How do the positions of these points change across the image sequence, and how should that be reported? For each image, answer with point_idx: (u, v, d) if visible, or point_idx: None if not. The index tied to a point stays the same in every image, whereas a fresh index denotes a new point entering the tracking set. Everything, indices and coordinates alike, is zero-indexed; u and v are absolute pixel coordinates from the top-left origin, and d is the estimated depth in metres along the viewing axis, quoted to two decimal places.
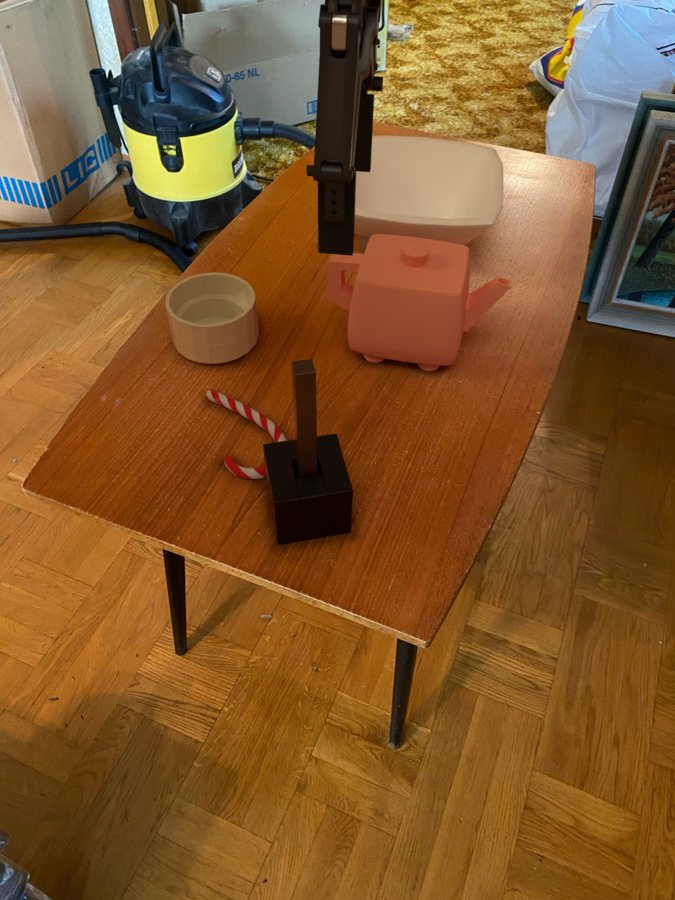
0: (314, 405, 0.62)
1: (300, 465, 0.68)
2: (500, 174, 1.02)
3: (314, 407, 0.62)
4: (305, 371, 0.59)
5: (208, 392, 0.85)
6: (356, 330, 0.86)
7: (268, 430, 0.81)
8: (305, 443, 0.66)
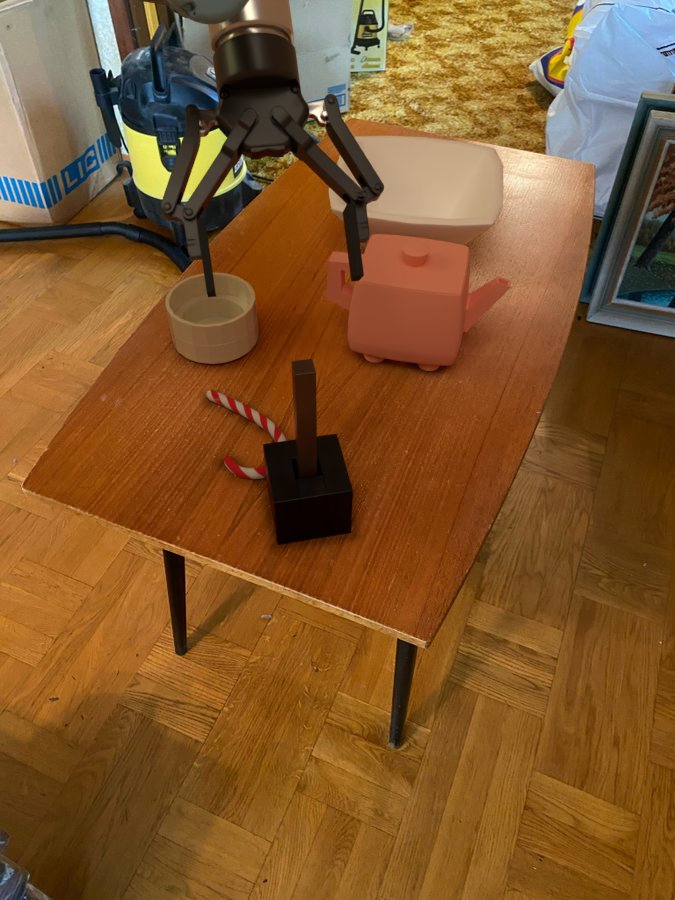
0: (314, 405, 0.62)
1: (300, 465, 0.68)
2: (500, 174, 1.02)
3: (314, 407, 0.62)
4: (305, 371, 0.59)
5: (208, 392, 0.85)
6: (356, 330, 0.86)
7: (268, 430, 0.81)
8: (305, 443, 0.66)
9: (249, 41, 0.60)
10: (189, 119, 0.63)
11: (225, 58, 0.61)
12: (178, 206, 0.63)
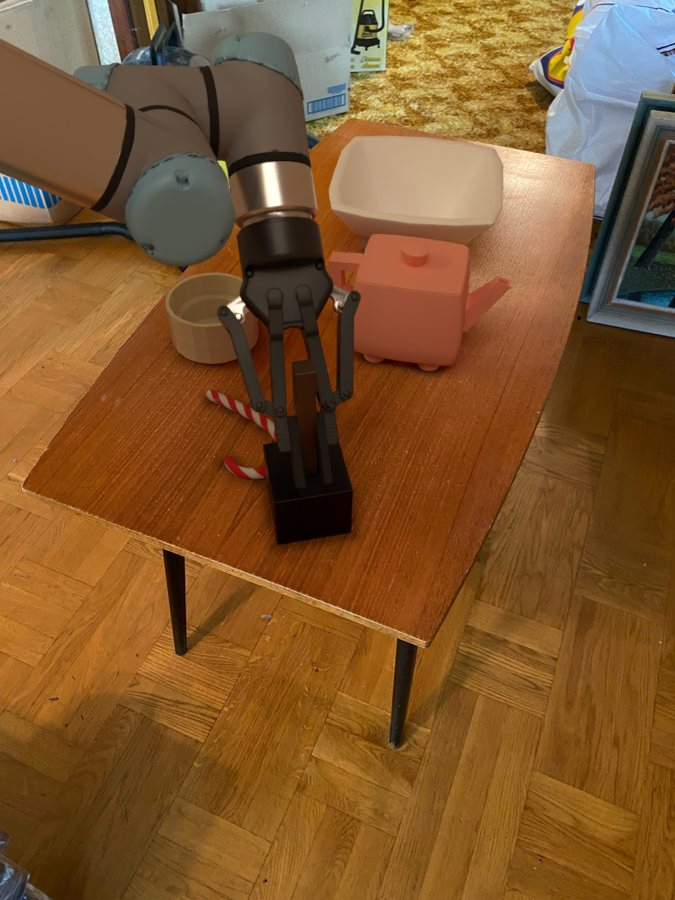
0: (314, 405, 0.62)
1: None
2: (500, 174, 1.02)
3: (314, 407, 0.62)
4: (305, 371, 0.59)
5: (208, 392, 0.85)
6: (356, 330, 0.86)
7: (268, 430, 0.81)
8: (305, 443, 0.66)
9: (275, 227, 0.60)
10: (226, 321, 0.62)
11: (251, 242, 0.61)
12: (269, 403, 0.64)
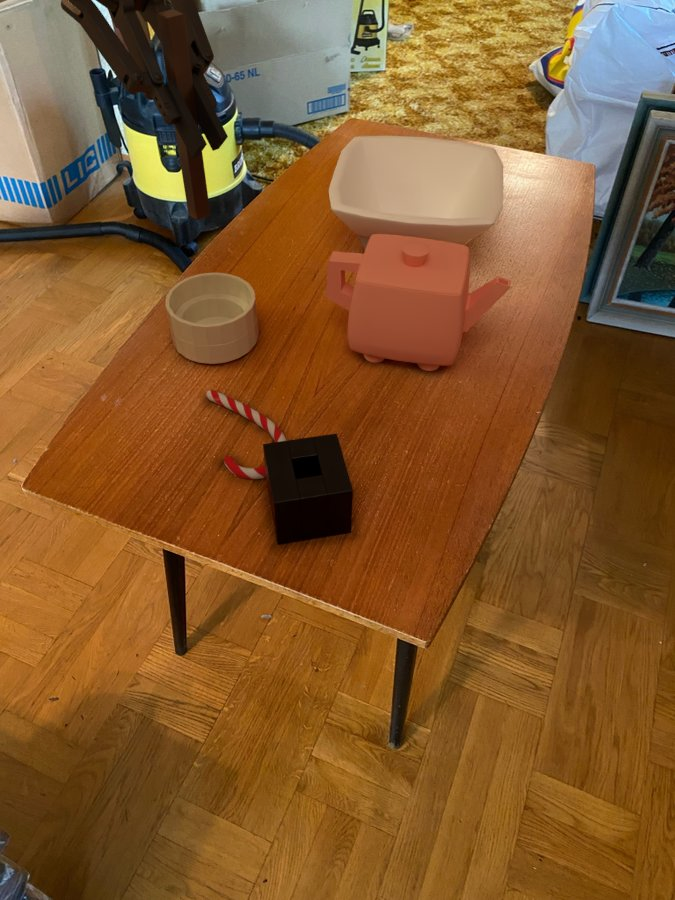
0: (188, 60, 0.67)
1: None
2: (500, 174, 1.02)
3: (189, 63, 0.67)
4: (174, 15, 0.64)
5: (208, 392, 0.85)
6: (356, 330, 0.86)
7: (268, 430, 0.81)
8: None
9: None
10: None
11: None
12: (144, 74, 0.67)
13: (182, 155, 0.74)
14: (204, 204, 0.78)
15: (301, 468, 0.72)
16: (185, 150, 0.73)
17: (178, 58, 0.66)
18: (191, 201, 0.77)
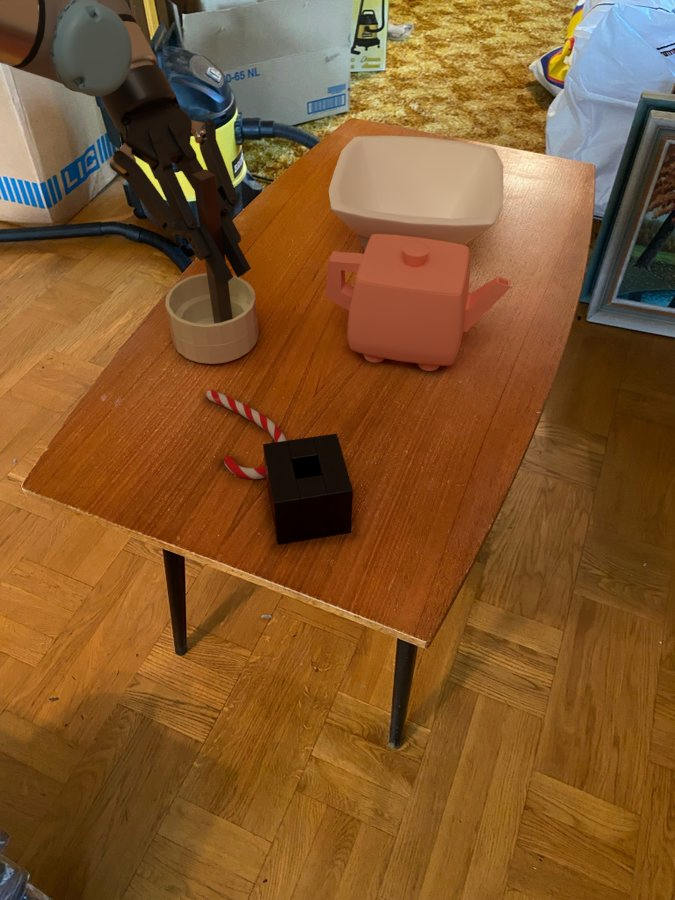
0: (218, 208, 0.79)
1: None
2: (500, 174, 1.02)
3: (218, 210, 0.79)
4: (207, 176, 0.76)
5: (208, 392, 0.85)
6: (356, 330, 0.86)
7: (268, 430, 0.81)
8: None
9: (138, 74, 0.75)
10: (124, 162, 0.76)
11: (121, 92, 0.75)
12: (180, 221, 0.79)
13: (210, 279, 0.85)
14: (228, 316, 0.90)
15: (301, 468, 0.72)
16: (213, 276, 0.84)
17: (209, 208, 0.78)
18: (217, 314, 0.89)
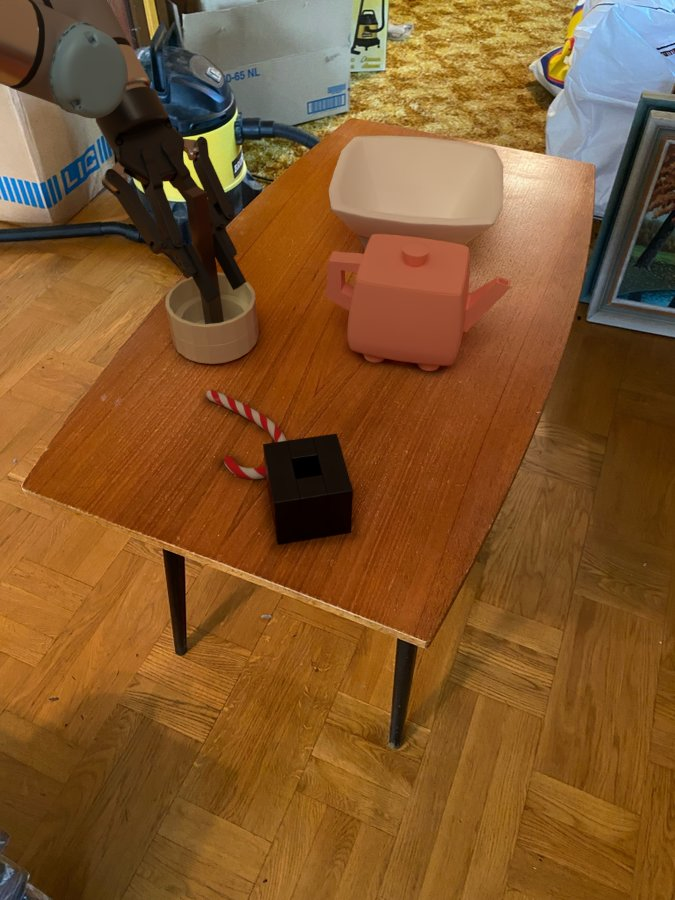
0: (209, 224, 0.80)
1: None
2: (500, 174, 1.02)
3: (210, 226, 0.80)
4: (199, 193, 0.77)
5: (208, 392, 0.85)
6: (356, 330, 0.86)
7: (268, 430, 0.81)
8: (208, 263, 0.83)
9: (131, 96, 0.76)
10: (115, 180, 0.77)
11: (115, 113, 0.76)
12: (167, 240, 0.80)
13: None
14: None
15: (301, 468, 0.72)
16: None
17: (201, 224, 0.80)
18: None
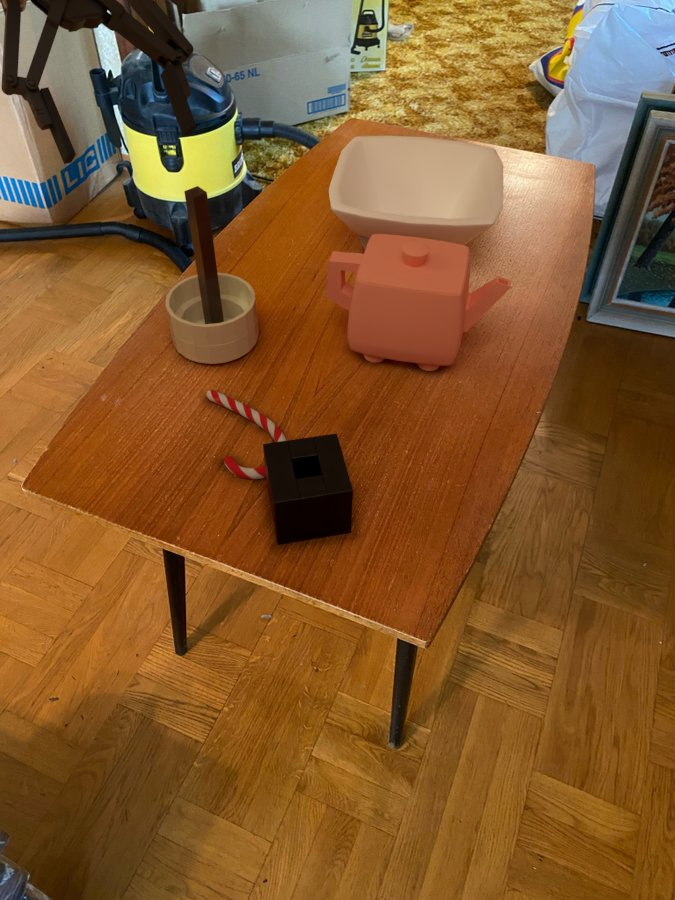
0: (209, 224, 0.80)
1: (208, 287, 0.85)
2: (500, 174, 1.02)
3: (210, 226, 0.80)
4: (199, 193, 0.77)
5: (208, 392, 0.85)
6: (356, 330, 0.86)
7: (268, 430, 0.81)
8: (208, 263, 0.83)
9: None
10: None
11: None
12: (19, 78, 0.69)
13: (203, 292, 0.87)
14: None
15: (301, 468, 0.72)
16: (205, 290, 0.86)
17: (201, 224, 0.80)
18: None
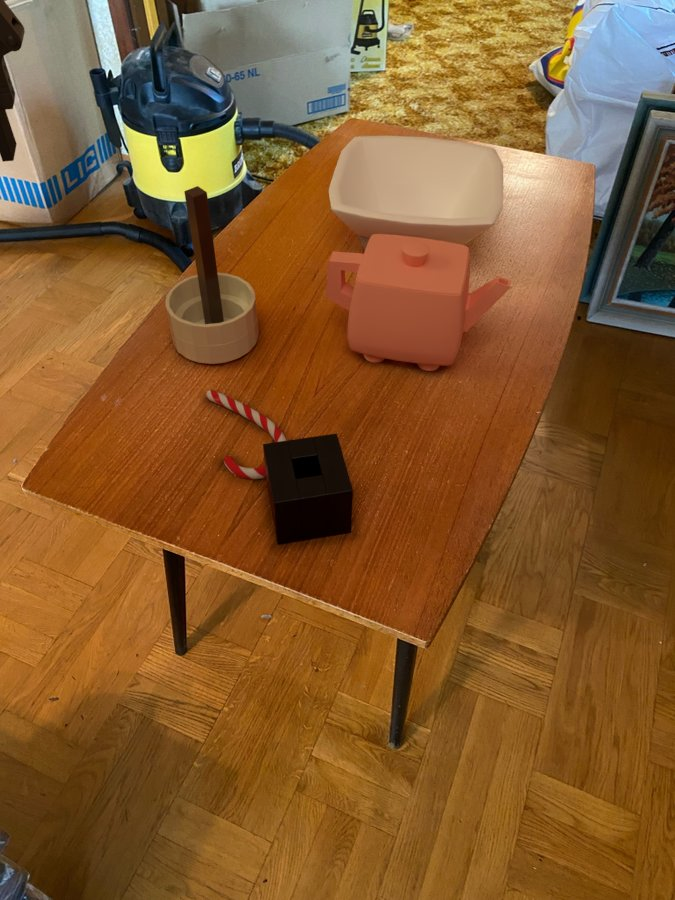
0: (209, 224, 0.80)
1: (208, 287, 0.85)
2: (500, 174, 1.02)
3: (210, 226, 0.80)
4: (199, 193, 0.77)
5: (208, 392, 0.85)
6: (356, 330, 0.86)
7: (268, 430, 0.81)
8: (208, 263, 0.83)
9: None
10: None
11: None
12: None
13: (203, 292, 0.87)
14: None
15: (301, 468, 0.72)
16: (205, 290, 0.86)
17: (201, 224, 0.80)
18: None
